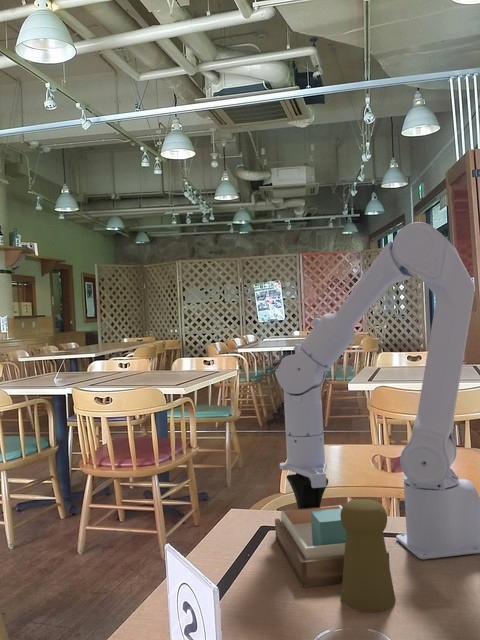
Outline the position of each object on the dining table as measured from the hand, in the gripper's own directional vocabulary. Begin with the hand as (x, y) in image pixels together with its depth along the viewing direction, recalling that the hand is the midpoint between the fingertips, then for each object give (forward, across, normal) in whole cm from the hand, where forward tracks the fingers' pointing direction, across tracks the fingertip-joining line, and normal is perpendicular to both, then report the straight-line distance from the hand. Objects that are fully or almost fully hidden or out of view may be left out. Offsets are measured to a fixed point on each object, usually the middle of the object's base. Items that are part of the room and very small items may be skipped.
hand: (309, 523), depth 87 cm
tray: (0, +9, 0) cm, 9 cm away
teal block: (-1, +13, 0) cm, 13 cm away
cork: (+2, +22, +1) cm, 22 cm away
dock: (+1, +9, 0) cm, 9 cm away
